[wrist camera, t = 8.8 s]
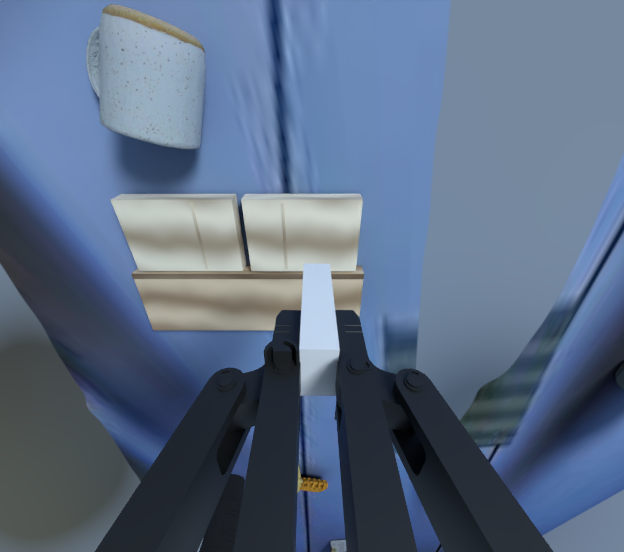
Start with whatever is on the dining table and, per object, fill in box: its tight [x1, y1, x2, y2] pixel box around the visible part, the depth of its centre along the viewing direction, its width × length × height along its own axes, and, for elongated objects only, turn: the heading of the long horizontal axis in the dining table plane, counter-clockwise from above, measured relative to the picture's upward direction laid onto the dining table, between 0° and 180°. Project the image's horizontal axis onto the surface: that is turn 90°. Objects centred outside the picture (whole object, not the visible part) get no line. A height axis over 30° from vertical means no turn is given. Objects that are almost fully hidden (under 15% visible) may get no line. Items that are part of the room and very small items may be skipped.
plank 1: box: [111, 194, 246, 271], centre depth 32 cm, size 9×12×2 cm
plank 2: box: [241, 194, 363, 271], centre depth 32 cm, size 9×12×2 cm
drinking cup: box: [199, 475, 245, 552], centre depth 55 cm, size 8×8×20 cm
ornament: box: [297, 465, 328, 493], centre depth 59 cm, size 7×10×15 cm
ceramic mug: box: [86, 4, 206, 149], centre depth 23 cm, size 11×8×8 cm
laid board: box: [132, 266, 364, 331], centre depth 37 cm, size 9×28×2 cm, turn 90°
